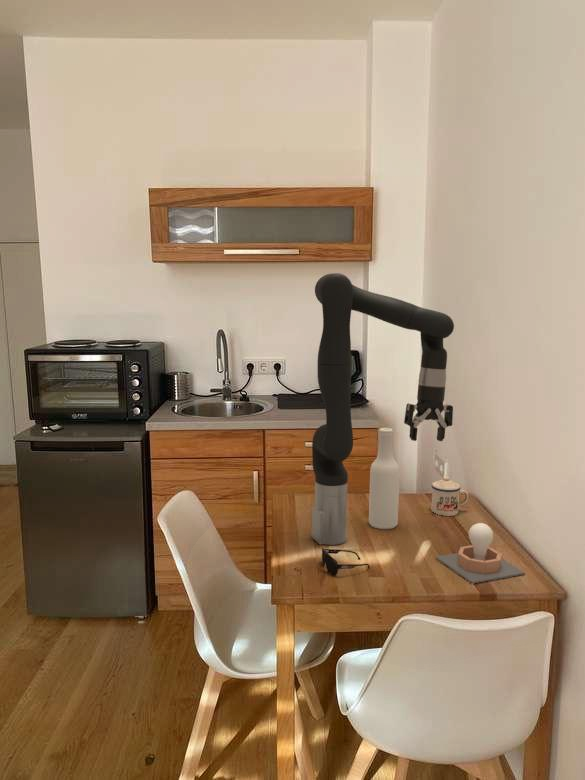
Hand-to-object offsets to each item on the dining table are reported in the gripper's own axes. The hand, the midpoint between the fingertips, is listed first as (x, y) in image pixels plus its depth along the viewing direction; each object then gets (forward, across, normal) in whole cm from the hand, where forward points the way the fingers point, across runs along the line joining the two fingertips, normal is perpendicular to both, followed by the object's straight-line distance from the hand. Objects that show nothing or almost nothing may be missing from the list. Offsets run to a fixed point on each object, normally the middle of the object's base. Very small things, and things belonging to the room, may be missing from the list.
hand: (426, 440), depth 182 cm
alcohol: (+29, -5, +13) cm, 32 cm away
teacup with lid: (+27, +21, +17) cm, 38 cm away
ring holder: (+29, +6, -22) cm, 37 cm away
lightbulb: (+29, +6, -22) cm, 36 cm away
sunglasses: (+32, -28, -11) cm, 44 cm away
